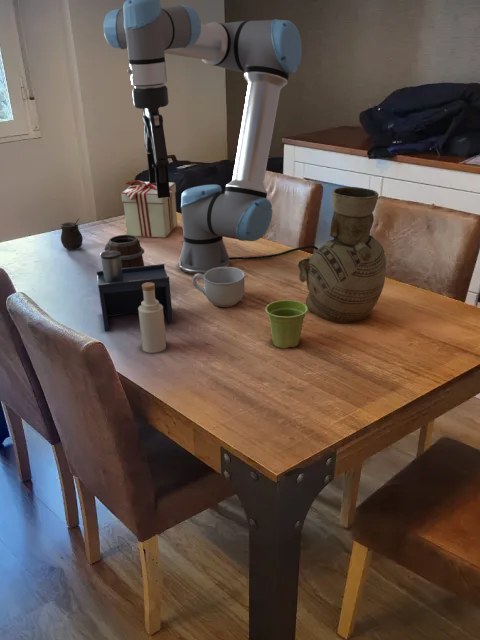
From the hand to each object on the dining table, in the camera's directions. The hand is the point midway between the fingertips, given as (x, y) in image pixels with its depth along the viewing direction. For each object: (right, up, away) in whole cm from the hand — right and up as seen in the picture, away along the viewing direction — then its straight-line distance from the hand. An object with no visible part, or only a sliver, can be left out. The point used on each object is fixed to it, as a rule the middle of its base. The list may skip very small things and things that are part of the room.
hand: (159, 189), depth 146 cm
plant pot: (+29, -35, +1) cm, 46 cm away
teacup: (+14, -22, +23) cm, 35 cm away
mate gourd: (-34, +5, +66) cm, 75 cm away
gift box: (-8, +14, +77) cm, 79 cm away
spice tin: (-12, -19, +9) cm, 24 cm away
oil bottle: (-1, -36, +2) cm, 36 cm away
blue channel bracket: (-7, -27, +16) cm, 32 cm away
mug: (-12, -16, +33) cm, 39 cm away
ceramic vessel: (+45, -26, +13) cm, 54 cm away
